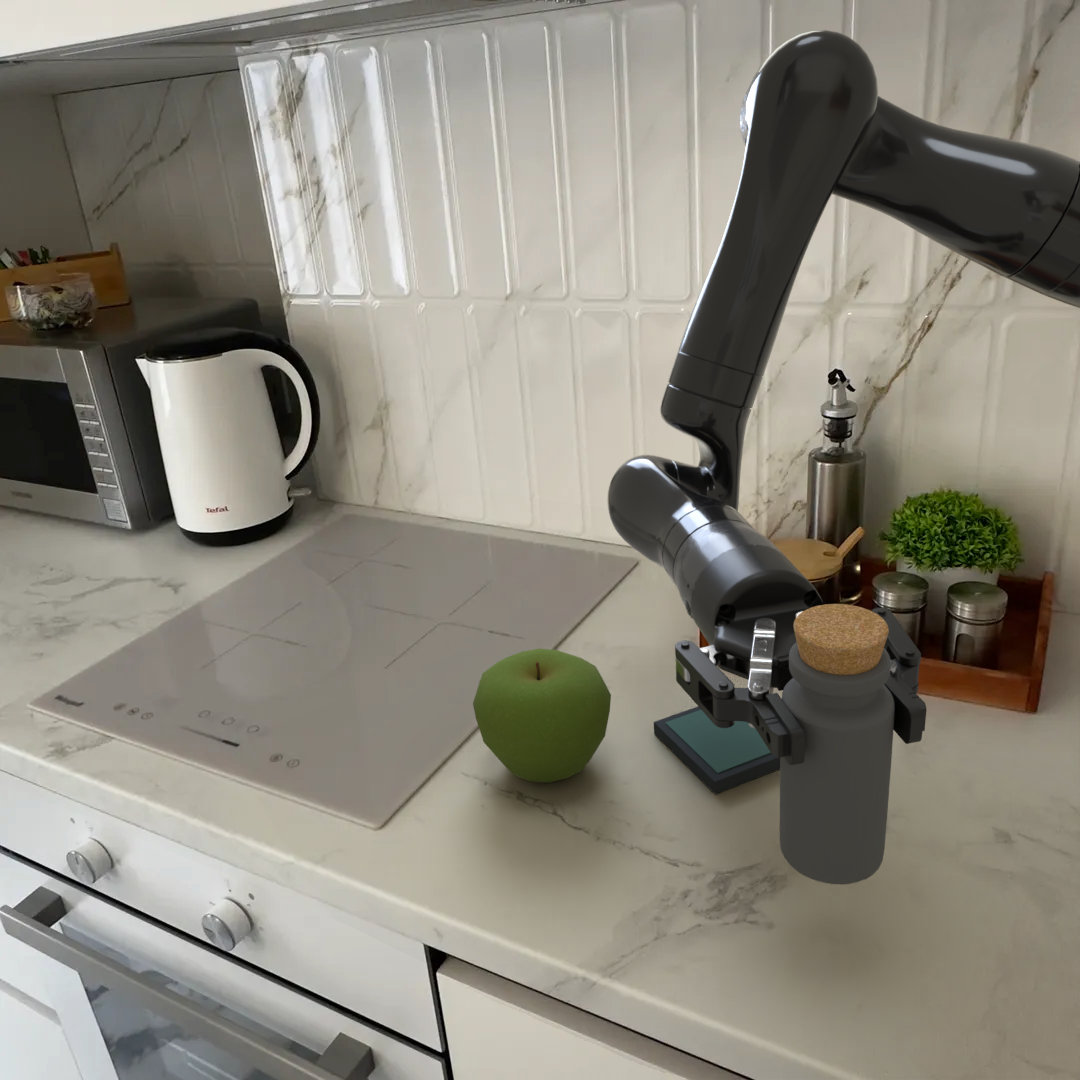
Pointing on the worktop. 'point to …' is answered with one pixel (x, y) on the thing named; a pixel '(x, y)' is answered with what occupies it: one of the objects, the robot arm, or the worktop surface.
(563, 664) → the apple
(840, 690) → the bottle
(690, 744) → the teal square coaster
